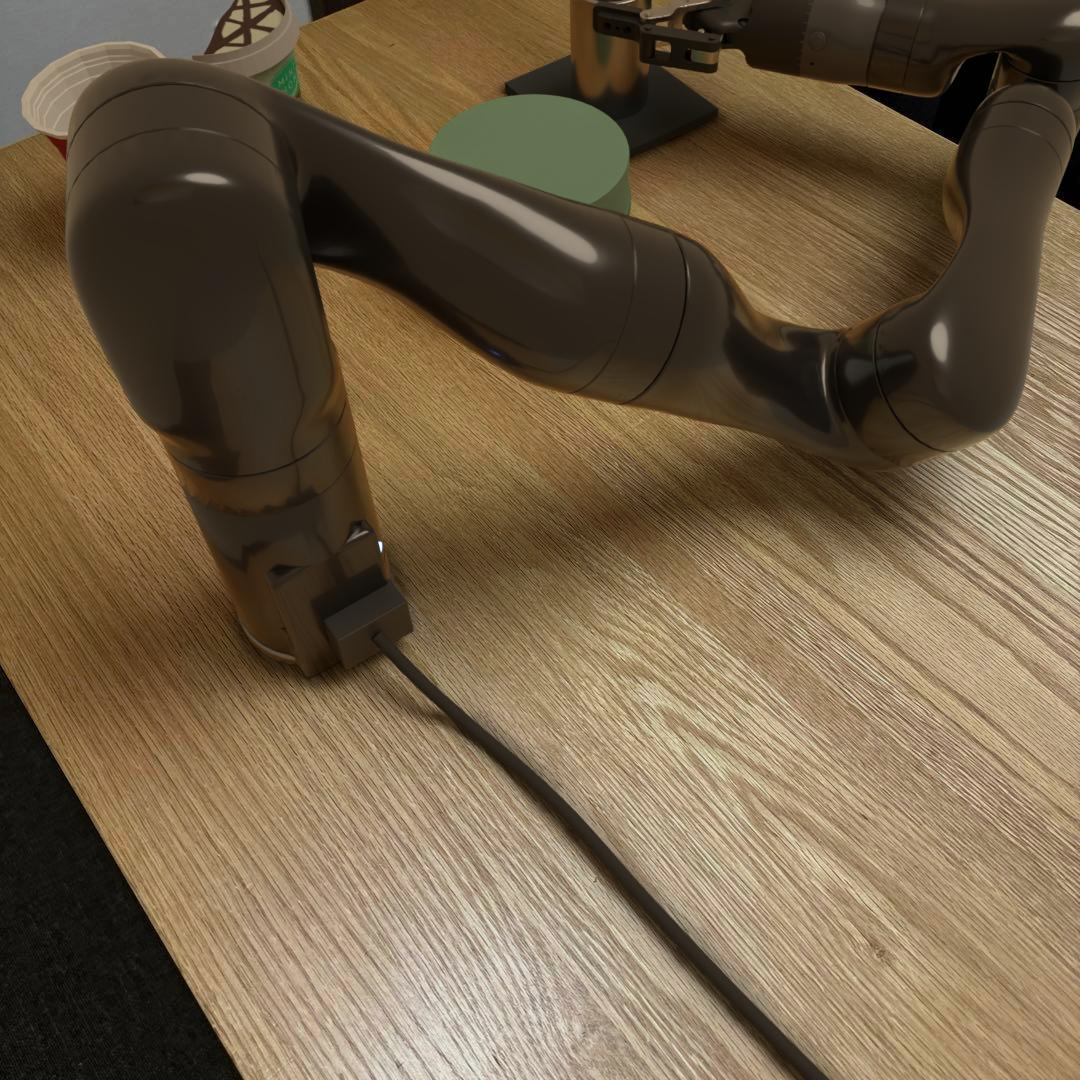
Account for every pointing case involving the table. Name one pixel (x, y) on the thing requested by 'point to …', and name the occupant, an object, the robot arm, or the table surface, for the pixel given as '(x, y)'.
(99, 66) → the plastic cup
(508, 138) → the sage green puck
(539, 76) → the mat
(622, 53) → the steel cup
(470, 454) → the table surface
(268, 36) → the food container
